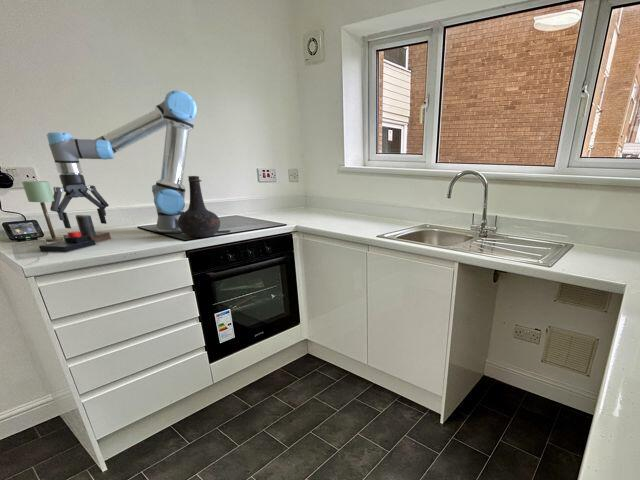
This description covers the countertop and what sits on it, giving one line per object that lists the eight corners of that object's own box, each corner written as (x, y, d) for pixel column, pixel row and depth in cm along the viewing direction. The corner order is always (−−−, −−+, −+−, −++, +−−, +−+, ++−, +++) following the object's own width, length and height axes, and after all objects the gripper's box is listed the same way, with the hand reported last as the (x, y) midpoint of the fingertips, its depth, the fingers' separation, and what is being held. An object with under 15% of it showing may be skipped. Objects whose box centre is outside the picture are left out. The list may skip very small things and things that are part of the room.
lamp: (71, 239, 140) (53, 181, 132) (55, 242, 133) (35, 182, 125) (54, 238, 140) (35, 180, 132) (37, 242, 133) (15, 181, 125)
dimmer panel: (112, 238, 160) (110, 232, 159) (92, 244, 150) (89, 236, 149) (85, 237, 160) (83, 231, 159) (63, 242, 150) (60, 235, 149)
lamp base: (96, 244, 150) (94, 235, 148) (66, 252, 136) (62, 242, 135) (73, 243, 150) (70, 234, 148) (40, 251, 136) (37, 241, 135)
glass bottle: (180, 240, 160) (169, 176, 150) (180, 233, 175) (171, 174, 165) (223, 238, 169) (215, 177, 159) (220, 232, 183) (213, 175, 173)
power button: (84, 236, 147) (82, 231, 146) (75, 238, 143) (74, 233, 142) (74, 236, 147) (73, 231, 146) (66, 238, 143) (64, 233, 142)
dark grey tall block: (98, 233, 156) (93, 214, 153) (91, 235, 151) (85, 216, 148) (85, 233, 155) (80, 214, 152) (78, 235, 150) (72, 216, 147)
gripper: (98, 173, 156) (111, 221, 164) (26, 174, 134) (46, 229, 142) (109, 173, 154) (122, 222, 162) (38, 175, 132) (57, 231, 140)
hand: (86, 225), depth 152 cm, fingers open, 13 cm apart
